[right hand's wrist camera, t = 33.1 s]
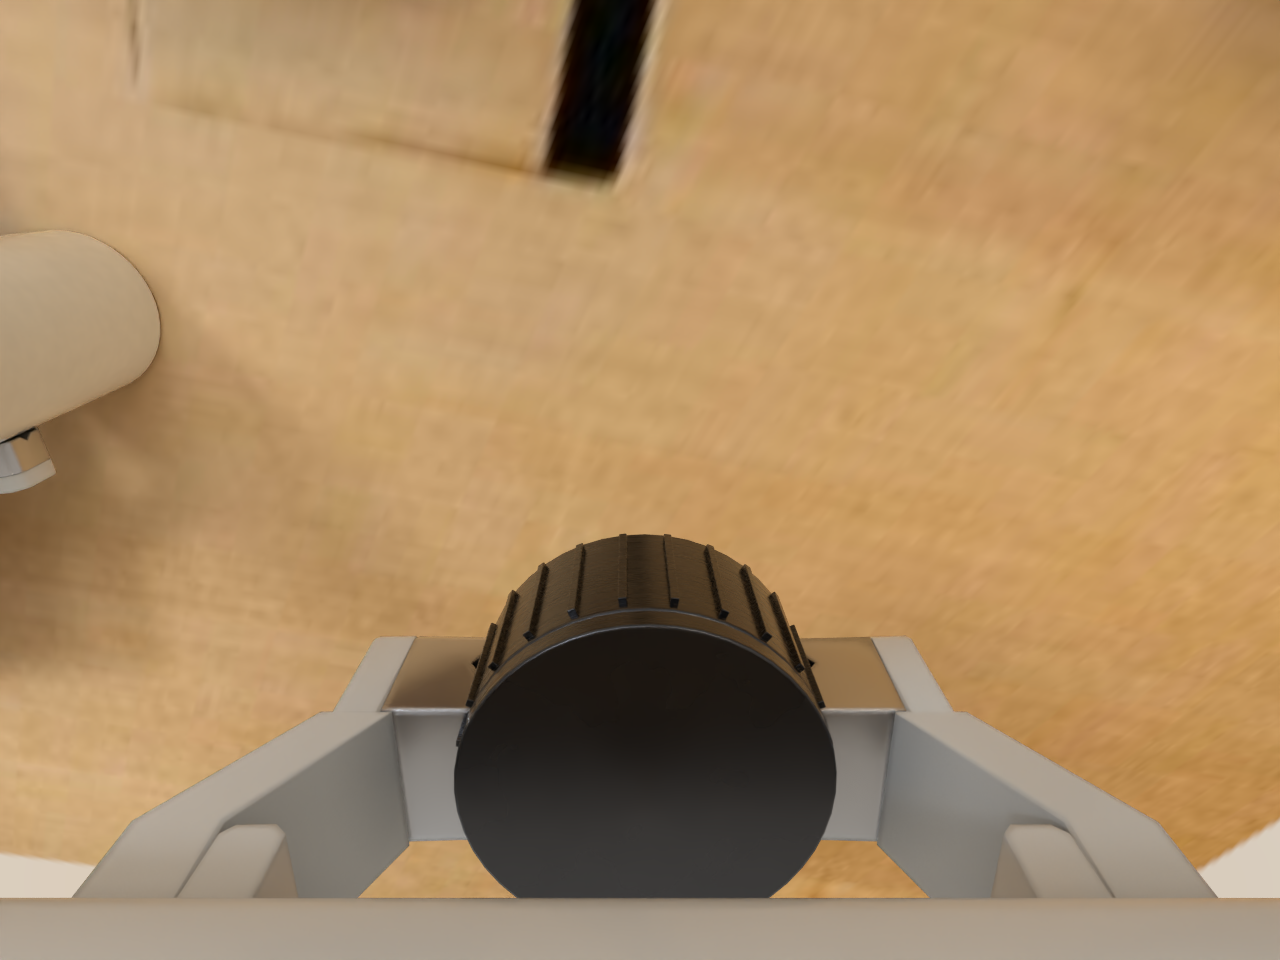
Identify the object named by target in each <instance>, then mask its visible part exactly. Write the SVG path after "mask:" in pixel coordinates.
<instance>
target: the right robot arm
mask: <svg viewBox="0 0 1280 960" xmlns="http://www.w3.org/2000/svg"><path fill="white" fill-rule="evenodd" d="M485 640H486V638H477V637H427V636H420V637H417V636H381V637H378V638H376V639H375V640H374V641H373V642H372V644H371V645H370V647H369V649H368V651H367V652H366V654H365V656H364V658H363V659H362V661H361V663H360V665H359V666H358V668H357V670H356V672H355V673H354V675H353V677H352V679H351V680H350V682H349V684H348V686H347V687H346V689H345V691H344V693H343V694H342V696H341V698H340V700H339V701H338V703H337V705H336V707H335V708H334V710H333V712H319V713H318V714H316V715H314V716H313V717H311V718H309V719H307V720H306V721H304V722H302V723H300V724H299V725H297V726H295V727H294V728H292V729H290V730H288V731H287V732H285V733H283V734H281V735H280V736H278V737H276V738H275V739H273V740H271V741H269V742H268V743H266V744H264V745H262V746H261V747H259V748H257V749H256V750H254V751H252V752H250V753H249V754H247V755H245V756H243V757H242V758H240V759H238V760H236V761H235V762H233V763H231V764H230V765H228V766H226V767H224V768H223V769H221V770H219V771H217V772H216V773H214V774H212V775H211V776H209V777H207V778H205V779H204V780H202V781H200V782H198V783H197V784H195V785H193V786H192V787H190V788H188V789H186V790H185V791H183V792H181V793H179V794H178V795H176V796H174V797H172V798H171V799H169V800H167V801H166V802H164V803H162V804H160V805H159V806H157V807H155V808H153V809H152V810H150V811H148V812H147V813H145V814H143V815H141V816H140V817H138V818H136V819H134V820H133V821H131V823H130V824H129V825H128V826H127V828H126V829H125V830H124V832H123V833H122V834H121V835H120V837H119V838H118V839H117V841H116V842H115V843H114V844H113V846H112V847H111V848H110V849H109V851H108V852H107V853H106V855H105V856H104V857H103V858H102V860H101V861H100V862H99V863H98V865H97V866H96V867H95V869H94V870H93V871H92V873H91V874H90V875H89V876H88V877H87V879H86V880H85V881H84V883H83V884H82V885H81V886H80V888H79V889H78V890H77V892H76V893H75V894H74V895H73V897H72V898H0V960H1280V898H1218V897H1217V896H1216V894H1215V893H1214V892H1213V891H1212V889H1211V888H1210V887H1209V886H1208V884H1207V883H1206V882H1205V881H1204V879H1203V878H1202V877H1201V876H1200V874H1199V873H1198V872H1197V870H1196V869H1195V868H1194V867H1193V865H1192V864H1191V863H1190V862H1189V860H1188V859H1187V858H1186V857H1185V855H1184V854H1183V853H1182V852H1181V850H1180V849H1179V848H1178V846H1177V845H1176V844H1175V843H1174V841H1173V840H1172V839H1171V838H1170V836H1169V835H1168V834H1167V833H1166V831H1165V830H1164V829H1163V828H1162V826H1161V825H1160V824H1159V822H1157V821H1155V820H1154V819H1152V818H1150V817H1148V816H1147V815H1145V814H1143V813H1141V812H1140V811H1138V810H1136V809H1134V808H1133V807H1131V806H1129V805H1127V804H1126V803H1124V802H1122V801H1120V800H1119V799H1117V798H1115V797H1114V796H1112V795H1110V794H1108V793H1107V792H1105V791H1103V790H1101V789H1100V788H1098V787H1096V786H1094V785H1093V784H1091V783H1089V782H1087V781H1086V780H1084V779H1082V778H1081V777H1079V776H1077V775H1075V774H1074V773H1072V772H1070V771H1068V770H1067V769H1065V768H1063V767H1061V766H1060V765H1058V764H1056V763H1054V762H1053V761H1051V760H1049V759H1048V758H1046V757H1044V756H1042V755H1041V754H1039V753H1037V752H1035V751H1034V750H1032V749H1030V748H1028V747H1027V746H1025V745H1023V744H1021V743H1020V742H1018V741H1016V740H1014V739H1013V738H1011V737H1009V736H1008V735H1006V734H1004V733H1002V732H1001V731H999V730H997V729H995V728H994V727H992V726H990V725H988V724H987V723H985V722H983V721H981V720H980V719H978V718H976V717H975V716H973V715H971V714H969V713H968V712H954V710H953V709H952V707H951V705H950V704H949V702H948V700H947V698H946V697H945V695H944V693H943V692H942V690H941V688H940V687H939V685H938V683H937V682H936V680H935V678H934V677H933V675H932V673H931V671H930V670H929V668H928V666H927V665H926V663H925V661H924V660H923V658H922V656H921V655H920V653H919V651H918V650H917V648H916V646H915V644H914V643H913V641H912V639H910V638H909V637H907V636H880V637H850V638H811V639H800V641H801V644H802V646H803V649H804V651H805V654H806V656H807V659H808V662H809V664H810V667H811V669H812V672H813V674H814V677H815V680H816V682H817V685H818V687H819V690H820V693H821V695H822V698H823V700H824V703H825V706H826V707H825V708H822V709H821V712H822V715H823V717H824V720H825V723H826V725H827V728H828V730H829V732H830V735H831V738H832V740H833V748H834V751H835V760H836V768H837V782H836V795H835V800H834V805H833V810H832V814H831V817H830V819H829V822H828V825H827V828H826V830H825V833H824V835H823V837H822V838H821V840H848V841H877V845H878V846H879V847H880V848H881V849H882V850H883V851H884V852H885V853H886V854H887V855H888V856H889V857H890V858H891V859H892V860H893V861H894V862H895V863H896V864H897V865H898V866H899V867H900V868H901V869H902V870H903V871H904V872H905V873H906V874H907V875H908V876H909V877H910V878H911V879H912V880H913V881H914V882H915V883H916V884H917V885H918V886H919V887H920V888H921V889H922V890H923V891H924V892H925V893H926V894H927V895H928V896H929V897H930V898H358V897H359V896H360V895H361V894H362V893H363V892H364V891H365V890H366V889H367V888H368V887H369V886H370V885H371V884H372V883H373V881H374V880H375V879H376V878H377V877H378V876H379V875H380V874H381V873H382V872H383V871H384V870H385V869H386V868H387V867H388V866H389V865H390V864H391V863H392V862H393V861H394V860H395V859H396V858H397V857H398V856H399V855H400V854H401V853H402V852H403V851H404V850H405V849H406V848H407V847H408V846H409V841H438V840H467V838H466V836H465V834H464V831H463V828H462V825H461V822H460V819H459V816H458V813H457V808H456V802H455V795H454V767H455V761H456V755H457V750H458V747H456V740H457V736H458V733H459V730H460V727H461V724H465V723H466V720H467V716H468V713H469V710H470V707H467V706H465V704H466V701H467V697H468V694H469V691H470V688H471V685H472V681H473V678H474V675H475V672H476V669H477V665H478V662H479V659H480V656H481V653H482V649H483V646H484V643H485Z"/></svg>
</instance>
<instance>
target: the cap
mask: <svg viewBox="0 0 1280 960" xmlns="http://www.w3.org/2000/svg"><path fill="white" fill-rule="evenodd" d="M465 706H467V707H470V710H469V713H468V716H467V720H466V723H465V724H461V727H460V730H459V733H458V736H457V740H456V747H458V750H457V755H456V761H455V767H454V795H455V802H456V808H457V813H458V816H459V819H460V822H461V825H462V828H463V831H464V834H465V836H466V838H467V840H468V842H469V844H470V846H471V848H472V850H473V851H474V853H475V854H476V856H477V857H478V859H479V860H480V861H481V863H482V864H483V866H484V867H485V868H486V869H487V871H488V872H489V873H490V874H491V875H492V876H493V877H494V878H495V879H496V880H497V881H498V882H499V883H500V884H501V885H502V886H503V887H504V888H505V889H507V890H508V891H509V892H510V893H511V894H513V895H514V896H515V897H516V898H769V897H771V896H772V895H773V894H775V893H776V892H777V891H778V890H780V889H781V888H782V887H783V886H785V885H786V884H787V883H788V882H789V881H790V880H791V879H792V878H793V877H794V876H795V875H796V874H797V873H798V872H799V871H800V870H801V869H802V867H803V866H804V865H805V863H806V862H807V861H808V859H809V858H810V857H811V855H812V854H813V853H814V851H815V849H816V848H817V846H818V844H819V842H820V840H821V838H822V837H823V835H824V833H825V830H826V828H827V825H828V822H829V819H830V817H831V814H832V810H833V805H834V800H835V795H836V782H837V768H836V760H835V751H834V748H833V740H832V738H831V735H830V732H829V730H828V728H827V725H826V723H825V720H824V717H823V715H822V712H821V709H822V708H825V707H826V706H825V703H824V700H823V698H822V695H821V693H820V690H819V687H818V685H817V682H816V680H815V677H814V674H813V672H812V669H811V667H810V664H809V662H808V659H807V656H806V654H805V651H804V649H803V646H802V644H801V641H800V638H799V636H798V633H797V631H796V628H795V625H792V626H789V624H788V621H787V618H786V616H785V613H784V610H783V608H782V605H781V602H780V600H779V597H778V595H777V594H776V593H775V592H773V593H772V594H771V593H770V592H769V590H768V589H767V588H766V587H765V586H764V585H763V584H762V583H761V581H760V580H759V579H758V578H757V577H755V576H754V575H753V574H752V572H751V569H750V567H748V566H747V565H746V564H745V565H744V566H742V565H741V564H739V563H738V562H736V561H734V560H733V559H731V558H730V557H728V556H727V555H725V554H722V553H720V552H718V551H716V550H714V547H713V546H711V545H708V544H707V546H705V545H701V544H698V543H695V542H692V541H689V540H685V539H680V538H675V537H671V535H668V534H664V536H661V535H646V534H643V535H626V534H620V535H619V536H618V537H612V538H606V539H601V540H598V541H595V542H591V543H588V544H585V545H583V543H582V544H579V545H576V548H575V549H573V550H570V551H568V552H566V553H564V554H562V555H560V556H558V557H557V558H555V559H553V560H552V561H550V562H548V563H547V564H545V563H542V564H541V565H539V566H538V570H537V571H536V572H535V573H534V574H533V575H531V576H530V577H529V578H528V579H527V580H526V581H525V582H524V583H523V584H522V585H521V586H520V587H519V588H518V590H517V591H516V592H515V591H514V590H512V591H511V592H510V594H509V596H508V599H507V602H506V606H505V607H504V609H503V611H502V613H501V615H500V617H499V619H498V621H497V623H496V624H494V623H491V625H490V627H489V630H488V633H487V637H486V640H485V643H484V646H483V649H482V653H481V656H480V659H479V662H478V665H477V669H476V672H475V675H474V678H473V681H472V685H471V688H470V691H469V694H468V697H467V701H466V704H465Z"/></svg>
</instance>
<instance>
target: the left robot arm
mask: <svg viewBox="0 0 1280 960" xmlns="http://www.w3.org/2000/svg"><path fill="white" fill-rule="evenodd" d="M55 474H56V470H55V468H54V465H53V463H52V460H51V458H50V455H49V453H48V450H47V448H46V446H45V443H44V441H43V439H42V436H41V434H40V431H39V429H38V427H34V428H32V429H30V430H28V431H25V432H23V433H21V434H19V435H17V436H14V437H12V438H10V439H8V440H6V441H4V442H1V443H0V494H5V493H13V492H17V491H21V490H24V489H27V488H30V487H33V486H35V485H36V484H38V483H40V482H42V481H44V480H46V479H47V478H49V477H51V476H53V475H55Z"/></svg>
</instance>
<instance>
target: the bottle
mask: <svg viewBox="0 0 1280 960" xmlns="http://www.w3.org/2000/svg"><path fill="white" fill-rule="evenodd" d="M159 339H160V319H159V313H158V309H157V305H156V302H155V300H154V297H153V295H152V293H151V291H150V289H149V287H148V285H147V283H146V282H145V280H144V279H143V278H142V276H141V275H140V273H139V272H138V271H137V270H136V269H135V268H134V266H133V265H132V264H131V263H130V262H129V261H128V260H127V259H125V258H124V257H123V256H122V255H121V254H119V253H118V252H117V251H116V250H114V249H113V248H111V247H110V246H108V245H106V244H105V243H103V242H101V241H99V240H97V239H94V238H92V237H90V236H87V235H84V234H81V233H77V232H72V231H66V230H44V231H35V232H26V233H17V234H8V235H0V443H1V442H4V441H6V440H8V439H10V438H12V437H14V436H17V435H19V434H21V433H23V432H25V431H28V430H30V429H32V428H34V427H36V426H39V425H41V424H43V423H45V422H47V421H49V420H52V419H54V418H56V417H58V416H60V415H63V414H65V413H67V412H69V411H71V410H74V409H76V408H78V407H80V406H82V405H84V404H87V403H89V402H91V401H93V400H95V399H98V398H100V397H102V396H104V395H106V394H109V393H111V392H113V391H115V390H117V389H119V388H122V387H124V386H126V385H128V384H130V383H132V382H133V381H134V380H136V379H137V378H139V377H140V376H141V375H142V374H143V373H144V372H145V371H146V370H147V368H148V367H149V365H150V364H151V363H152V361H153V359H154V357H155V355H156V352H157V348H158V345H159Z"/></svg>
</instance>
